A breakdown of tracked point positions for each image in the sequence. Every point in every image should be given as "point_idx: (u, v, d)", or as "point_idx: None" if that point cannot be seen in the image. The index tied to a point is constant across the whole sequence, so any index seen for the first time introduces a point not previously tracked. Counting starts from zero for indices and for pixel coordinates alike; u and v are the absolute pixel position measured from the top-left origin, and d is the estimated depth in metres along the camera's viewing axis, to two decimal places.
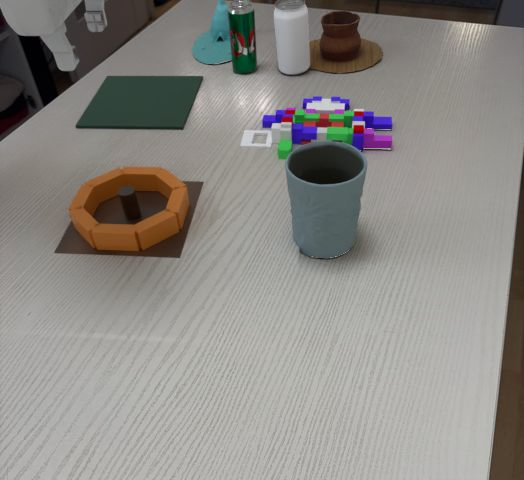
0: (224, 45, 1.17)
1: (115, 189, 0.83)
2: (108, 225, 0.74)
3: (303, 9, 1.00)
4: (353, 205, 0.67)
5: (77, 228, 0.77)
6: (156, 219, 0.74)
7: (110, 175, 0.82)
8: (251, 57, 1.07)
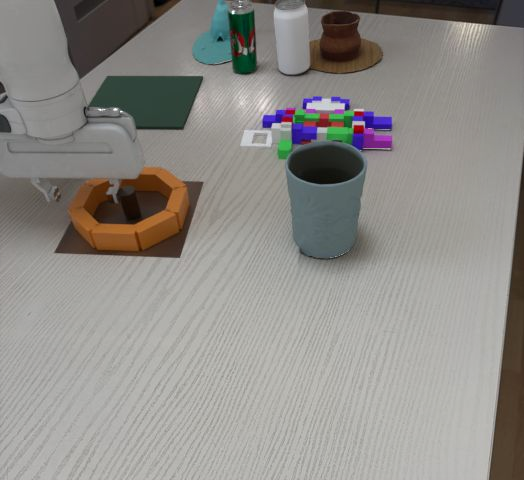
0: (224, 45, 1.17)
1: None
2: (108, 225, 0.74)
3: (302, 9, 1.00)
4: (353, 205, 0.67)
5: (77, 228, 0.77)
6: (156, 219, 0.74)
7: None
8: (251, 57, 1.07)
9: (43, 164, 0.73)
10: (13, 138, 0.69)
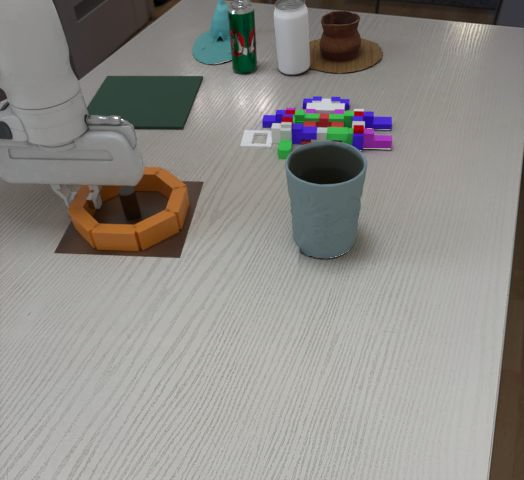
0: (224, 45, 1.17)
1: (115, 189, 0.83)
2: (108, 225, 0.74)
3: (302, 9, 1.00)
4: (353, 205, 0.67)
5: (77, 228, 0.77)
6: (156, 219, 0.74)
7: None
8: (251, 57, 1.07)
9: (43, 170, 0.74)
10: (14, 145, 0.70)
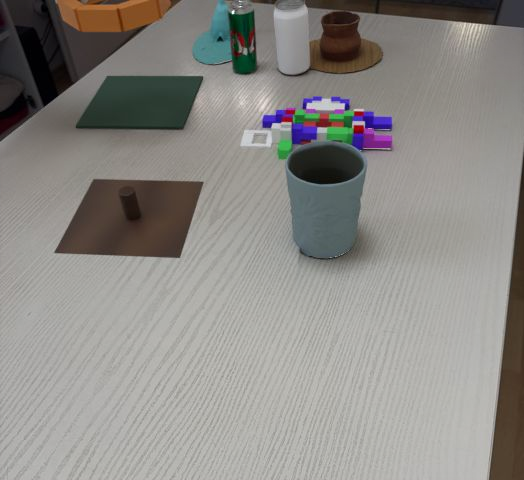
0: (224, 45, 1.17)
1: None
2: (92, 5, 0.79)
3: (302, 9, 1.00)
4: (353, 205, 0.67)
5: (64, 17, 0.83)
6: (137, 1, 0.80)
7: None
8: (251, 57, 1.07)
9: None
10: None
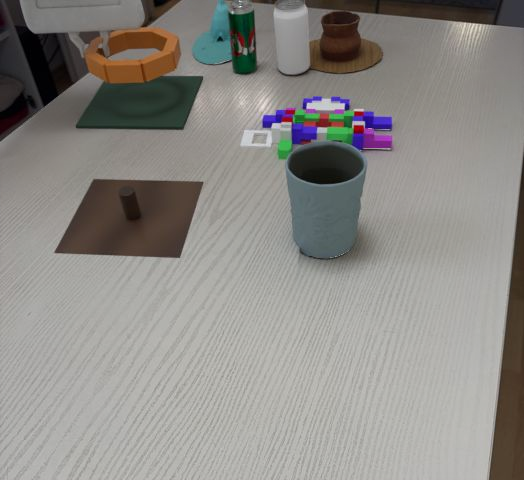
0: (224, 45, 1.17)
1: (119, 46, 1.01)
2: (118, 61, 0.93)
3: (302, 9, 1.00)
4: (353, 205, 0.67)
5: (92, 70, 0.96)
6: (156, 56, 0.93)
7: (115, 33, 1.00)
8: (251, 57, 1.07)
9: (64, 18, 0.92)
10: None
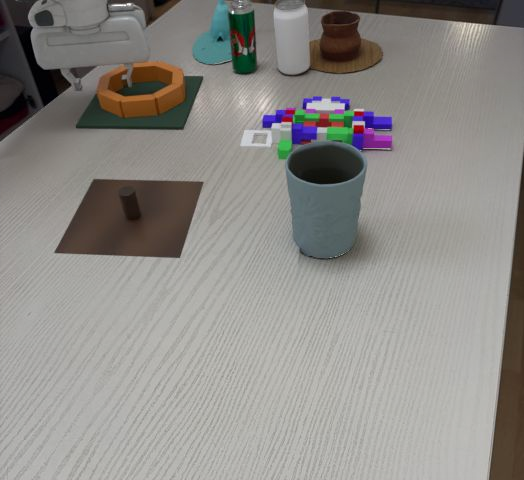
0: (224, 45, 1.17)
1: None
2: (132, 96, 0.98)
3: (302, 9, 1.00)
4: (353, 205, 0.67)
5: (105, 106, 1.01)
6: (167, 89, 0.99)
7: (120, 69, 1.06)
8: (251, 57, 1.07)
9: (74, 54, 0.96)
10: (53, 31, 0.93)
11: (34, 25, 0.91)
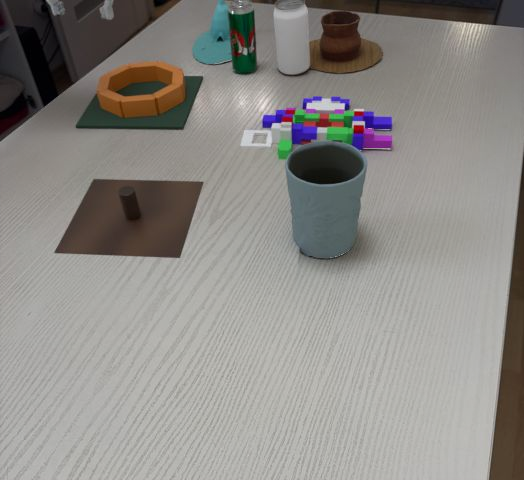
0: (224, 45, 1.17)
1: (125, 81, 1.07)
2: (132, 96, 0.98)
3: (302, 9, 1.00)
4: (353, 205, 0.67)
5: (105, 106, 1.01)
6: (167, 89, 0.99)
7: (120, 69, 1.06)
8: (251, 57, 1.07)
9: None
10: None
11: None
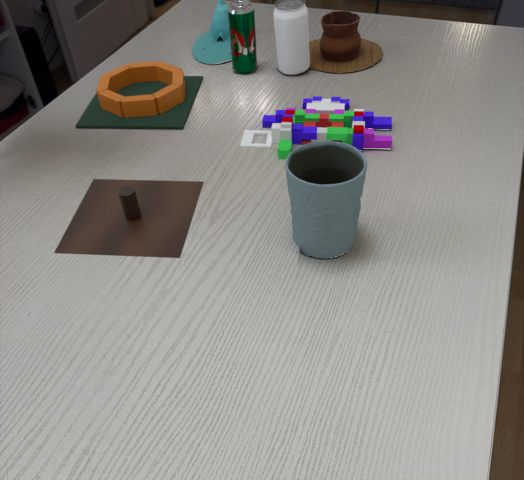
0: (224, 45, 1.17)
1: (125, 81, 1.07)
2: (132, 96, 0.98)
3: (302, 9, 1.00)
4: (353, 205, 0.67)
5: (105, 106, 1.01)
6: (167, 89, 0.99)
7: (120, 69, 1.06)
8: (251, 57, 1.07)
9: None
10: None
11: None
